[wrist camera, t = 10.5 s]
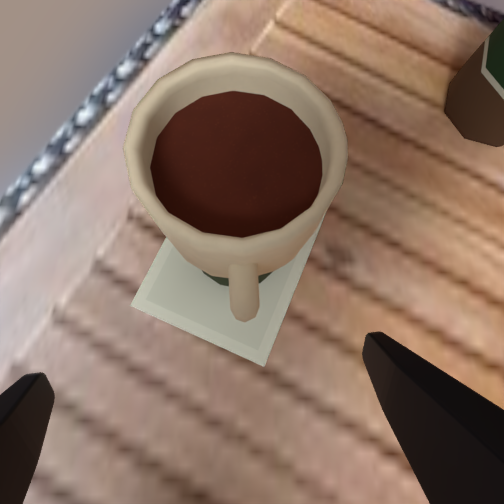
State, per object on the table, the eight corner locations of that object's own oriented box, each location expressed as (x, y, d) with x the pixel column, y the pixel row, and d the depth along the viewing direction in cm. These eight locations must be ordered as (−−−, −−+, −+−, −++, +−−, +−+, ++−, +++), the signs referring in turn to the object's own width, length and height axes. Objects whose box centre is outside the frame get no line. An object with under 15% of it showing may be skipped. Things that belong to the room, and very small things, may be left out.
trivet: (332, 194, 25) (335, 188, 24) (263, 365, 21) (264, 367, 20) (217, 146, 25) (216, 139, 24) (133, 306, 22) (129, 305, 21)
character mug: (294, 320, 21) (375, 312, 9) (190, 326, 21) (114, 330, 8) (281, 174, 24) (328, 3, 11) (187, 178, 23) (126, 6, 11)
